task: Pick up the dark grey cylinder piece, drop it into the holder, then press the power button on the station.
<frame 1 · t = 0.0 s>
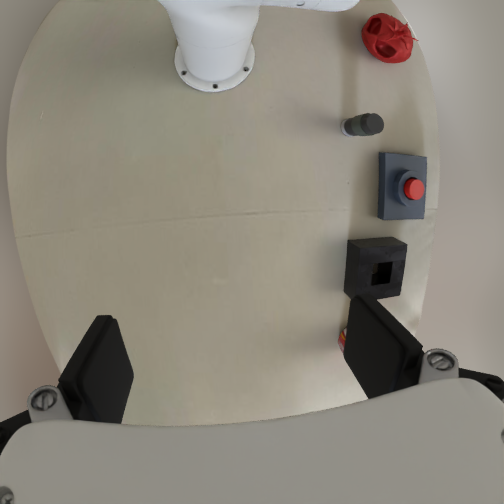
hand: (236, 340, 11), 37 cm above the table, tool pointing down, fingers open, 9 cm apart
station: (400, 185, 48), on the table
dark grey cylinder piece: (348, 127, 44), on the table
red rounded piece: (378, 44, 39), on the table
holder: (369, 264, 52), on the table
power button: (414, 189, 44), point 4 cm above the table, slide at 0.1 cm
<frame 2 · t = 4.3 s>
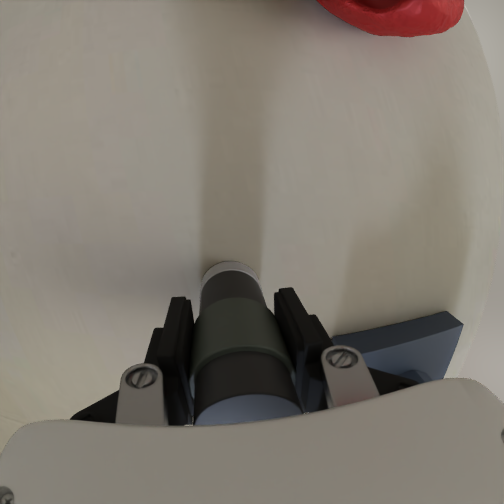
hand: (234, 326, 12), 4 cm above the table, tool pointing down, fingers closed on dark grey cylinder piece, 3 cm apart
station: (380, 385, 19), on the table
dark grey cylinder piece: (230, 288, 15), on the table, touching gripper
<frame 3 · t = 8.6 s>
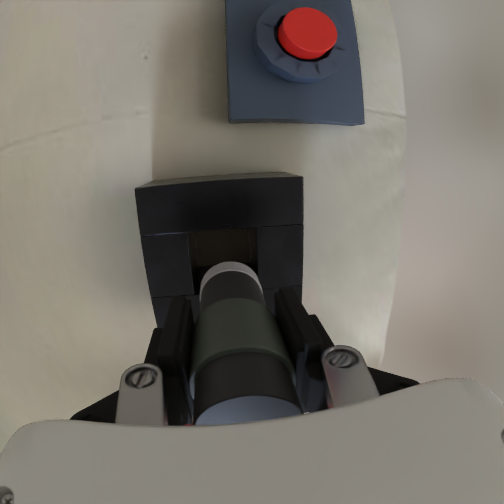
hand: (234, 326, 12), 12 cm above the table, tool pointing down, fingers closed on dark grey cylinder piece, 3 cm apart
station: (290, 53, 19), on the table
dark grey cylinder piece: (230, 288, 15), point 8 cm above the table, touching gripper
holder: (221, 239, 23), on the table
power button: (307, 33, 14), point 4 cm above the table, slide at 0.1 cm
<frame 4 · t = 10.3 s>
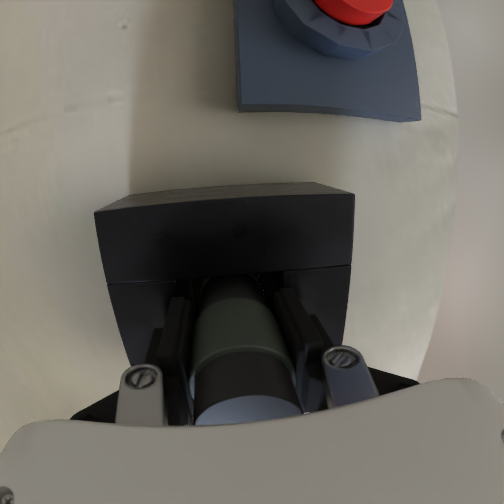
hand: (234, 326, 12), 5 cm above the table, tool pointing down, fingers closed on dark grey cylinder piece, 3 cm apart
station: (320, 23, 12), on the table
dark grey cylinder piece: (230, 288, 15), point 2 cm above the table, touching gripper
holder: (227, 275, 17), on the table
when the fingers open (5 cm above the table, at t = 12.9 s): dark grey cylinder piece drops 2 cm, resting in holder.
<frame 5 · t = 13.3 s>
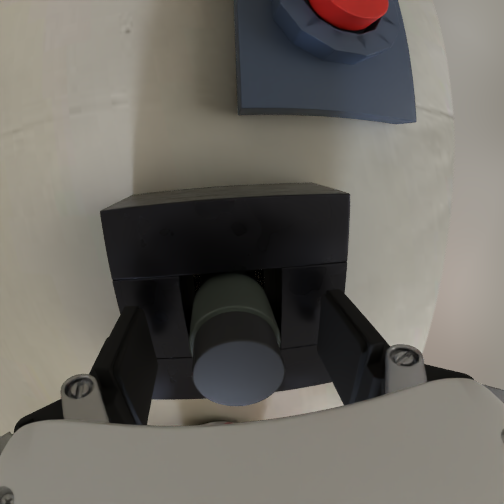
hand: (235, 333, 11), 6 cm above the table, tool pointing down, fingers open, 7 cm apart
station: (318, 27, 13), on the table
dark grey cylinder piece: (226, 271, 17), resting in holder
holder: (228, 273, 17), on the table
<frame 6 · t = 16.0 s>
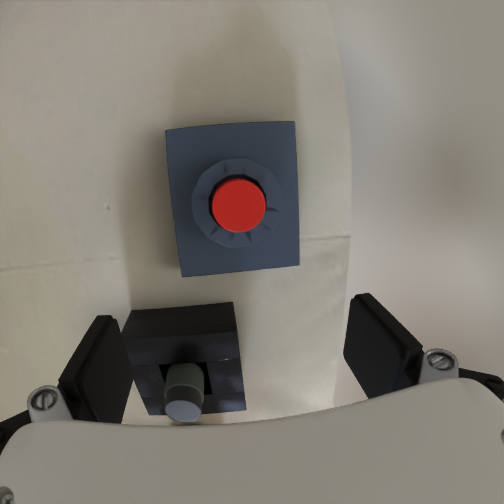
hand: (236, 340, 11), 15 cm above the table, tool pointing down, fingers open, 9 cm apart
station: (234, 196, 24), on the table
dark grey cylinder piece: (188, 347, 29), resting in holder
holder: (189, 348, 29), on the table
power button: (238, 204, 20), point 4 cm above the table, slide at 0.1 cm
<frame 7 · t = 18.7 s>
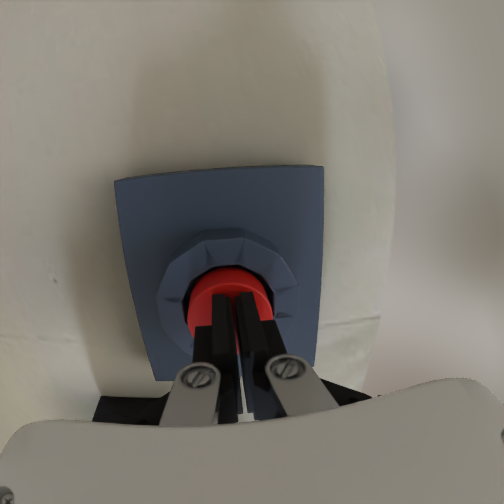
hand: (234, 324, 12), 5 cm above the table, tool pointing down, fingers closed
station: (225, 274, 17), on the table
holder: (173, 434, 21), on the table
power button: (229, 311, 13), point 4 cm above the table, slide at -0.1 cm, touching gripper
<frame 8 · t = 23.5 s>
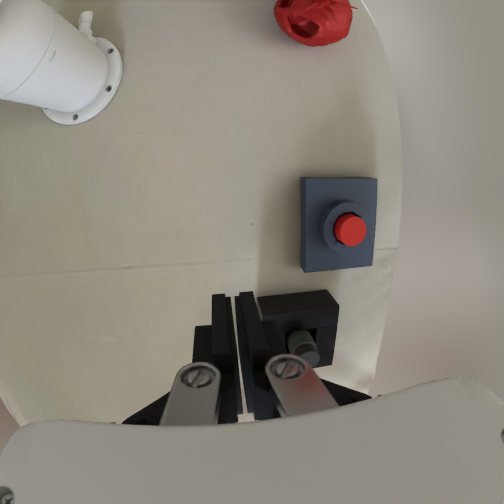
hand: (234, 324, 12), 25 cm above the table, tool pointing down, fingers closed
station: (336, 221, 38), on the table
dark grey cylinder piece: (291, 323, 42), resting in holder
red rounded piece: (305, 22, 29), on the table
holder: (291, 323, 42), on the table
power button: (350, 229, 33), point 4 cm above the table, slide at 0.1 cm
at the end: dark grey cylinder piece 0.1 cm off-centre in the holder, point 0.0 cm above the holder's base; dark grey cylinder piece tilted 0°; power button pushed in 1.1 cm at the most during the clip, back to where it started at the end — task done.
